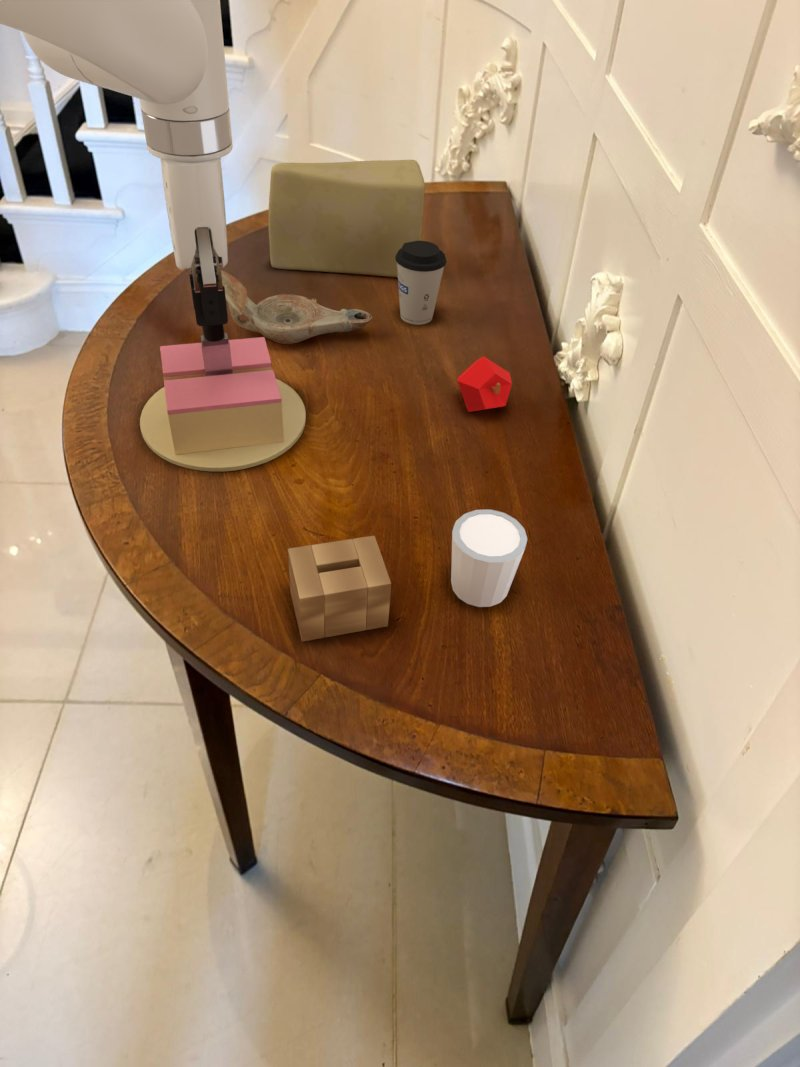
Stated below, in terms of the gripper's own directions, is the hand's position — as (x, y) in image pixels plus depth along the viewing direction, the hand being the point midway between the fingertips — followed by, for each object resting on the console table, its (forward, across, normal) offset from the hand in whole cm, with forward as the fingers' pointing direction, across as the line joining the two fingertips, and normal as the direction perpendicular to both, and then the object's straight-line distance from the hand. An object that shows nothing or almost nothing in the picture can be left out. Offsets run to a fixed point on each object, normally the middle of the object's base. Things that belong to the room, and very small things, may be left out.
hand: (210, 315), depth 83 cm
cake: (+14, 0, 0) cm, 14 cm away
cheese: (+14, -35, +22) cm, 44 cm away
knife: (+12, 0, 0) cm, 12 cm away
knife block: (+14, +31, +7) cm, 35 cm away
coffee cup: (+14, -19, +29) cm, 37 cm away
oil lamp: (+14, -17, +11) cm, 25 cm away
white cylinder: (+14, +31, +21) cm, 40 cm away
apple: (+14, +3, +31) cm, 34 cm away
